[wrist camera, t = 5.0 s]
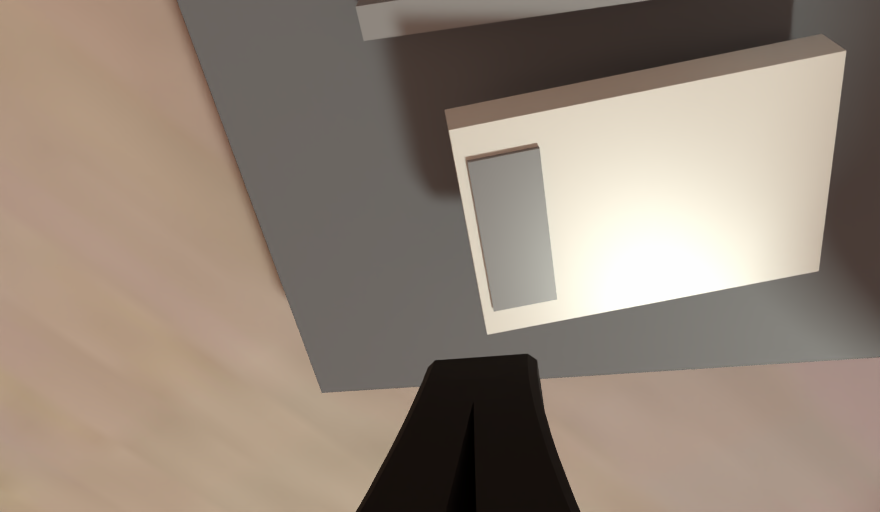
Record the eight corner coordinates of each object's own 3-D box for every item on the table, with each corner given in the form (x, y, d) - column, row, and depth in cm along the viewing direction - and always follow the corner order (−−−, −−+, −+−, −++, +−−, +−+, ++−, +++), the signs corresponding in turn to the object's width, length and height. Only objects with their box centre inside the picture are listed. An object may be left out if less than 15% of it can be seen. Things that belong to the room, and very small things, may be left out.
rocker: (821, 33, 13) (849, 52, 12) (799, 247, 16) (820, 273, 15) (444, 109, 13) (449, 132, 13) (481, 308, 16) (488, 337, 15)
